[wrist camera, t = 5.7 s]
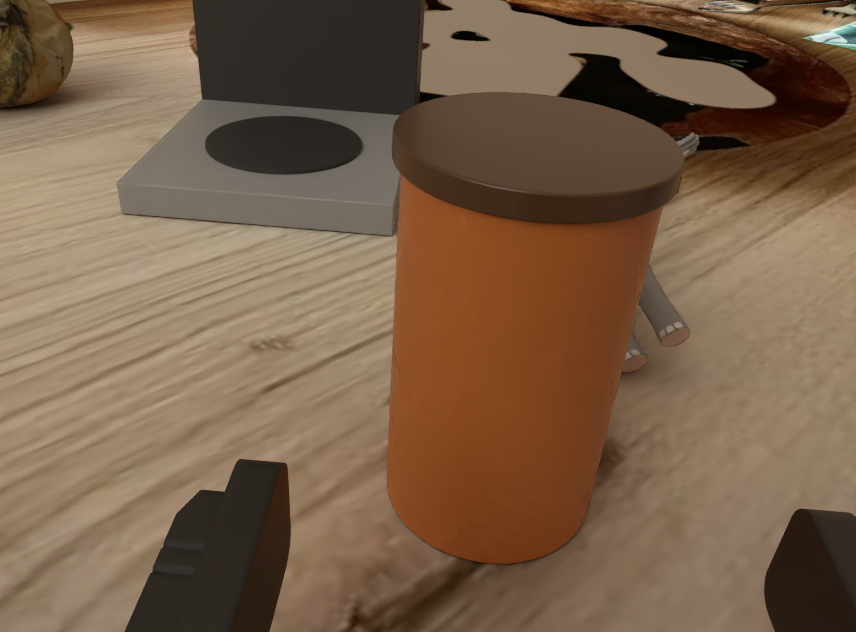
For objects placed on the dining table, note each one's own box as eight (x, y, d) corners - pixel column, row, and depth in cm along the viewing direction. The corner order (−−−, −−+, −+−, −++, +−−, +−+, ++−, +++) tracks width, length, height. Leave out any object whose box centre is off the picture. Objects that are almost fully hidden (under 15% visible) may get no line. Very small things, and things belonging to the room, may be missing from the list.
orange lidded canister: (633, 477, 22) (729, 139, 16) (519, 615, 18) (598, 226, 12) (463, 387, 25) (498, 76, 19) (333, 488, 21) (331, 130, 15)
